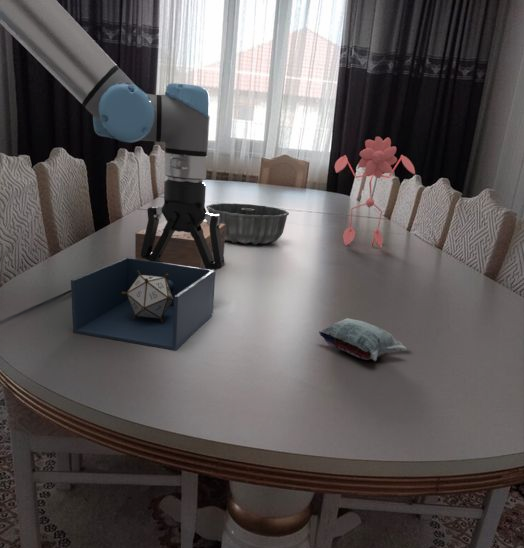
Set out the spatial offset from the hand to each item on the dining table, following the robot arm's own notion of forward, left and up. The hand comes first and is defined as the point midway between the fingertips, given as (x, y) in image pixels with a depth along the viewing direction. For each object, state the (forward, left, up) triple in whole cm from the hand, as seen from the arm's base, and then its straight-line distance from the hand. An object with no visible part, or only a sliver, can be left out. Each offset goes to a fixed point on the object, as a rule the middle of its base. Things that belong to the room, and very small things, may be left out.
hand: (181, 298), depth 103 cm
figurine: (+33, +84, 0) cm, 91 cm away
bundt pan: (-5, +71, 0) cm, 72 cm away
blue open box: (0, -10, 0) cm, 10 cm away
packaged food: (+36, -13, 0) cm, 38 cm away
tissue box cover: (-8, +22, 0) cm, 24 cm away
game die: (0, -15, 0) cm, 15 cm away
